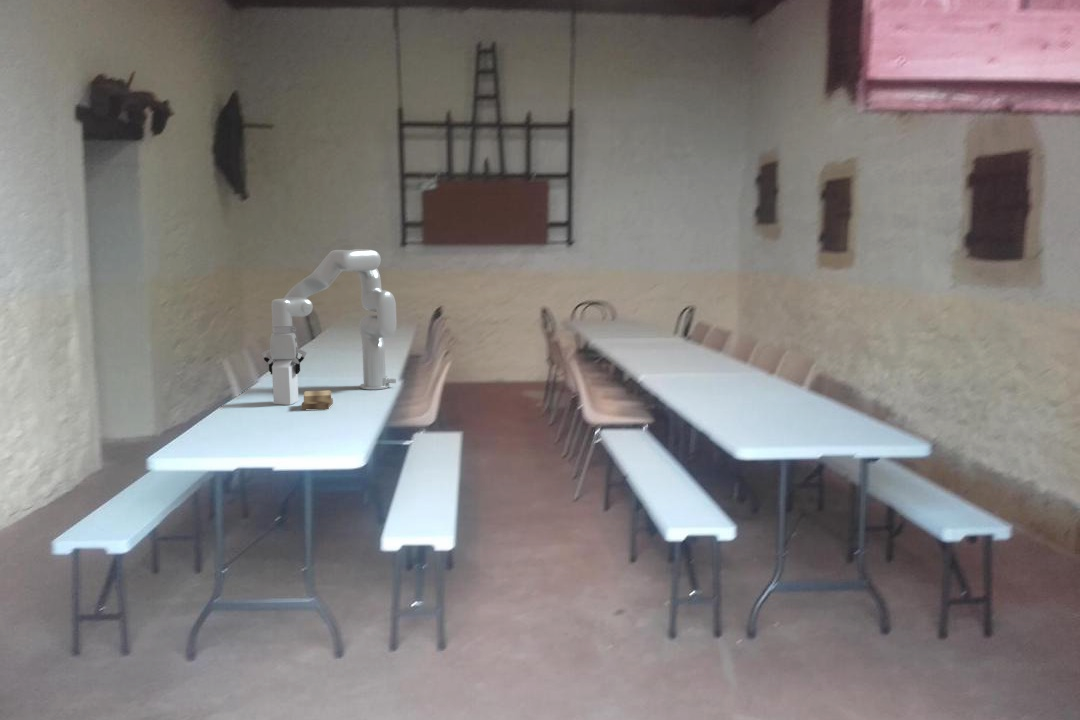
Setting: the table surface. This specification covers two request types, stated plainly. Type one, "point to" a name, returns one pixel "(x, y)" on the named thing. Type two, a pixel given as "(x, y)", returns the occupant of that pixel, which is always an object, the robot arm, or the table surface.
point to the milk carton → (285, 382)
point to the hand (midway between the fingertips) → (284, 373)
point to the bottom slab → (317, 405)
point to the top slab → (317, 397)
